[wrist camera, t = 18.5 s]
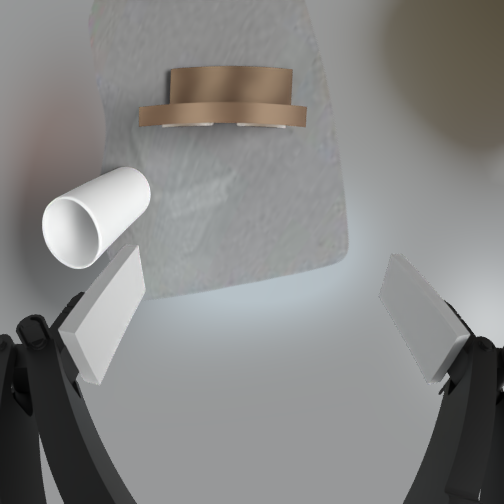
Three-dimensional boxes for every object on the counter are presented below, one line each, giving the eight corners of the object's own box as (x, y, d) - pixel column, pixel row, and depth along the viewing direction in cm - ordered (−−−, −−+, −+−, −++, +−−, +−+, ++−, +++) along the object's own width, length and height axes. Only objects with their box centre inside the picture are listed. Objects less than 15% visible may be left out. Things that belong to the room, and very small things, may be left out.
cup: (127, 228, 41) (77, 281, 27) (94, 191, 38) (32, 230, 24) (161, 195, 39) (114, 240, 25) (126, 155, 36) (63, 180, 22)
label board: (171, 126, 34) (139, 130, 24) (173, 70, 31) (141, 52, 20) (288, 128, 35) (305, 130, 24) (291, 70, 31) (309, 49, 20)
